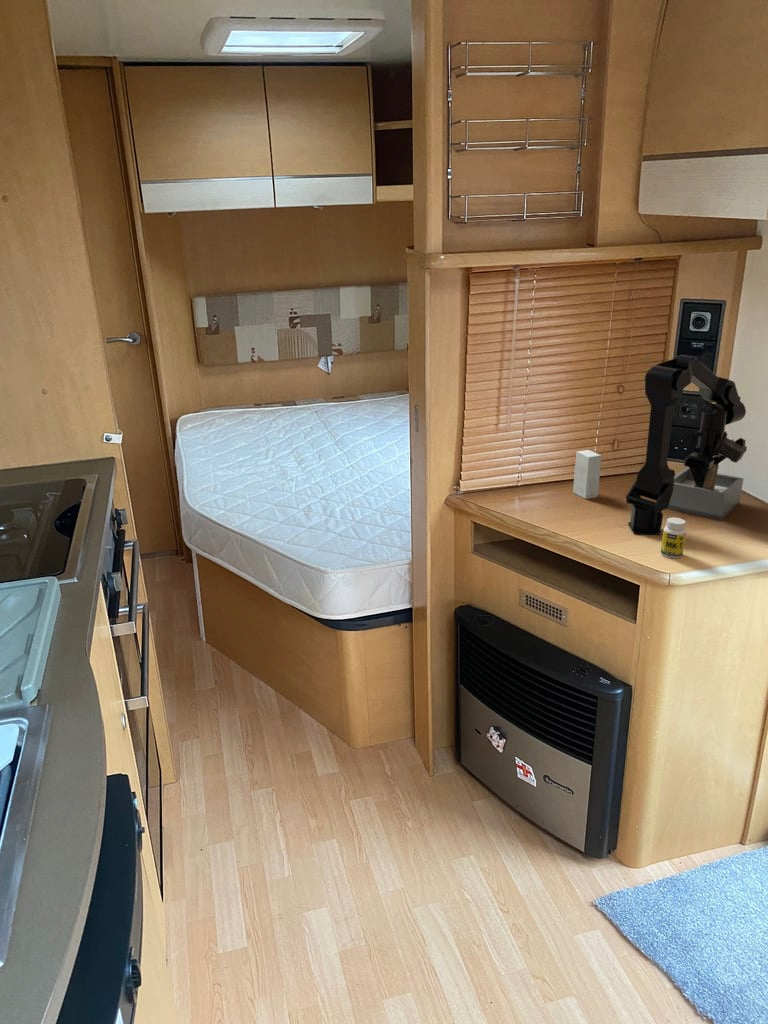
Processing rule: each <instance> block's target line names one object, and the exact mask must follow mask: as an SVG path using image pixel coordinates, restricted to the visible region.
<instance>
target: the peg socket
mask: <svg viewBox="0 0 768 1024" xmlns="http://www.w3.org/2000/svg"><path fill="white" fill-rule="evenodd" d="M743 485H744V478H743V477H738V476H732V475H729V474H728V475H726V474H722V473H718V472H717V478H716V483H715V488H714V491H713V490H708V489H703V488H699V487H694V486H695V481H694V478H693V475H692V473H691V471H690V468H689V467H687V466H685V467H684V468H683V469H682V470H680V471H679V472H678V473H675V477H674V486H673V493H672V496H671V499H670V502H669V505H668V508H667V509H669V510H674V511H679V512H683V513H686V514H692V515H695V516H696V515H697V516H701V517H704V516H705V517H706V518H708V517H709V519H714V520H718V521H722V520H723V519H724V518H725V517H727V515H728V514H729V513H731V511H733V510H734V509H736V507H737V506H738V505H739V504H740V501H741V497H742V496H741V495H742V490H743ZM705 517H704V518H705Z"/></svg>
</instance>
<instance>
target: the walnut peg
mask: <svg viewBox="0 0 768 1024" xmlns="http://www.w3.org/2000/svg"><path fill="white" fill-rule="evenodd" d="M713 466H715V467H714V468H712V469H711V470H710V471H708V473H707V476H706V479H705V482H704V485H703V487H702V488H703V489H708V490H713V491H714V488H715V483H716V478H717V473H718V472H719V464H718V465H714V464H713ZM694 487H696V484H695V486H694Z"/></svg>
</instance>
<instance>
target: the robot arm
mask: <svg viewBox="0 0 768 1024" xmlns="http://www.w3.org/2000/svg"><path fill="white" fill-rule="evenodd" d="M691 383H693V385H694V386H695V387H697V388H698V395H700V397H701V398H702V399H703V400H705V401H706V402H705V404H703V406H701V407H700V409H699V410H698V411H699V412H700V413H702V416H701V423H700V428H699V430H698V431H696V432H697V433H696V436H697V437H698V442H697V443H698V444H697V445H696V446H695V448H694V452H691V454H689V455H687V456H686V457H684V460H683V461H684V462H683V466H684V467H687V468H690V471H691V473H692V475H693V478H694V481H695V484H696V487H699V488H702V487H703V485H704V482H705V479H706V476H707V473H708V471H710V470H711V469H712V468H714V467H715V466H713V464H714V465H719V464H720V463H721V462H722V461H724V460H726V459H729V460H730V461H731V462H733V463H738V462H740V460H742V458H743V456H744V454H745V453H746V452H747V448H748V446H746V439H744V438H742V437H739V438H737V439H736V440H734V439H729V438H728V433H727V431H725V429H726V425H730V424H733V423H736V422H739V421H741V420H743V418H745V416H746V414H747V410H746V407H745V404H744V403H743V402H742V401H741V396H740V395H739V394H738V390H737V387H736V386H737V385H736V383H735V381H734V380H731V379H729V378H726V377H725V378H724V377H720V376H718V375H717V374H715V373H714V372H712V370H710V369H709V368H708V367H707V366H706V365H704V364H703V363H702V362H701V360H700V358H697V357H696V356H692V355H685V354H680V355H676V356H675V357H673V358H671V359H669V360H665V361H661V362H659V363H657V364H655V365H653V366H652V367H651V368H650V369H648V370H647V372H646V373H645V376H644V393H645V396H646V398H647V400H648V402H649V404H650V412H649V413H650V414H649V423H648V433H647V443H646V452H645V463H644V465H643V466H641V468H640V470H639V471H638V472H637V473H636V479H635V481H634V483H632V487H630V489H629V491H628V493H627V494H626V496H625V498H626V499H625V500H626V503H627V504H628V505H632V506H631V512H630V521H629V522H627V525H628V527H629V529H630V530H631V532H632V533H633V534H634V535H661V533H662V531H661V529H662V526H663V516H664V513H663V512H662V511H665V510H667V509H669V508H668V505H669V502H670V499H671V496H672V493H673V486H674V477H675V475H676V473H675V470H674V469H671V468H670V467H669V465H668V458H669V450H670V441H671V440H670V439H671V435H672V434H671V432H672V425H673V424H672V422H673V414H674V405H675V404H676V403H677V402H678V400H679V399H680V398H681V397H682V395H683V392H684V389H685V388H686V387H688V386H689V385H690V384H691ZM647 498H648V499H647ZM649 499H650V500H649Z"/></svg>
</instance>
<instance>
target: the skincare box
mask: <svg viewBox="0 0 768 1024" xmlns="http://www.w3.org/2000/svg"><path fill="white" fill-rule="evenodd" d="M575 453H576V454H575V462H574V463H575V465H574V476H573V477H574V478H573V487H572V489H573V490H572V492H573V493H574V494H575V495H578V496H579V497H581V498H583V499H585V500H588V499H593V498H594V499H595V498H598V496H599V486H600V476H601V466H602V464H601V463H602V454H599V453H597V452H594V451H592V450H590V449H585V450H577V451H575Z"/></svg>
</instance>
